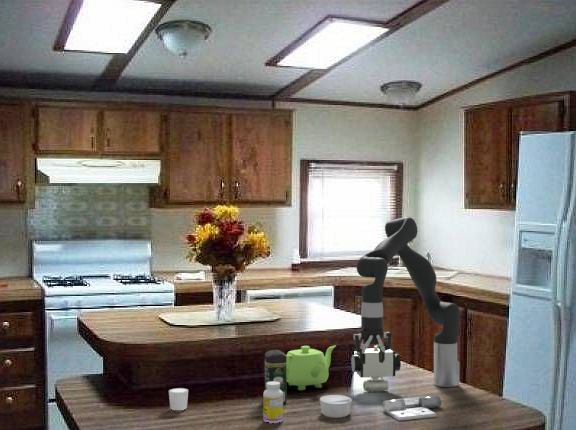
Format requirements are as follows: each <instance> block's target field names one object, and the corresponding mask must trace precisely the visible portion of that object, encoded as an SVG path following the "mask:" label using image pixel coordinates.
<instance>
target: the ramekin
mask: <svg viewBox="0 0 576 430" xmlns="http://www.w3.org/2000/svg"><path fill="white" fill-rule="evenodd" d="M352 402H353V400H352V398H351V397H349V396H347V395H342V394H329V395H323V396H321V397H320V398H319V403H320V408H321V409H320V410H321V413H322V415H323V416H324V417H328V418H334V419H335V418H336V419H340V418H345V417H347V416H348V415H349V414H350V413H351V408H352V407H351V406H352Z"/></svg>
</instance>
